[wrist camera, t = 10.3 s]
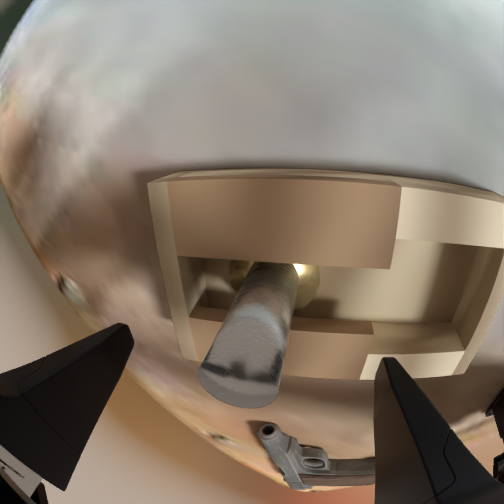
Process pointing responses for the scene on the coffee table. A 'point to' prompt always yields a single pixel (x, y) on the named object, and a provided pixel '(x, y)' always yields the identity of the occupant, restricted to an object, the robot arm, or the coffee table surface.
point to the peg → (256, 331)
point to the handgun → (312, 463)
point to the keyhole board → (337, 263)
